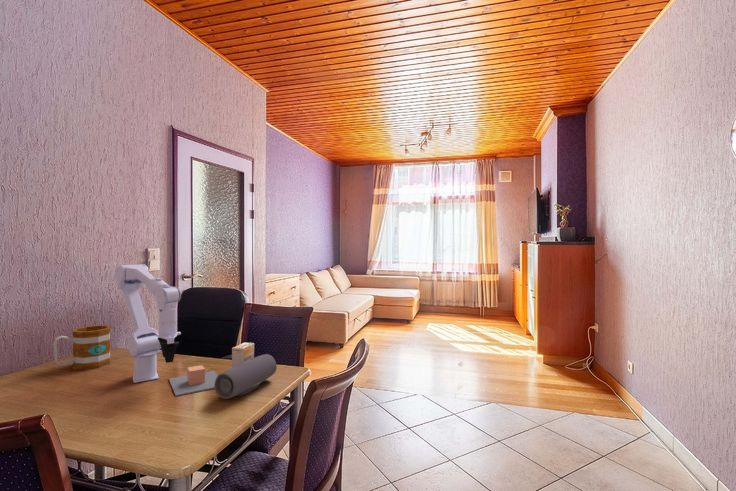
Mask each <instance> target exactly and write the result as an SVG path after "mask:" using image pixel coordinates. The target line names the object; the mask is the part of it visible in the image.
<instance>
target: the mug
mask: <svg viewBox="0 0 736 491" xmlns="http://www.w3.org/2000/svg"><path fill="white" fill-rule="evenodd" d="M61 339H63V340H64V339H65V340H66V341H67V342H70V343H72V357H73V358H72V359H71V358H70V359H67V360H65V361H64V362H60V360H59V348H58V341H60V340H61ZM111 344H112V343H111V325H108V324H107V325H105V324H104V325H103V324H99V325H98V324H96V325H87V326H82V327H78V328H74V329H73V330H72V338H70V337H69V336H66V335H59V336H58V337H55V339H54V341H53V343H52V347H53V356H54V357H53V358H54V362H55V364H56V365H57V366H66V365H68V364H72V368H71V369H72V370H80V371H83V370H92V369H99V368H102V367H104V366H108V365H110V364H111V362H112V359H111Z"/></svg>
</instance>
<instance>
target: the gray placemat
mask: <svg viewBox="0 0 736 491" xmlns="http://www.w3.org/2000/svg"><path fill="white" fill-rule="evenodd" d="M218 375H219V374H218V373H217V372H216V371H215V370H211V371H210V370H209V371H205V383H200V384H195V385H189V383H188V381H187V377H188V374H187V375H182V376H177V377H171V378H168V381H169V384H170V387H171V389H172V392H173V393H174V396H175V397H181V396H184V395H190V394H195V393H200V392H206V391H210V390H215V386H214V384H215V380H216V378H217V376H218Z"/></svg>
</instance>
